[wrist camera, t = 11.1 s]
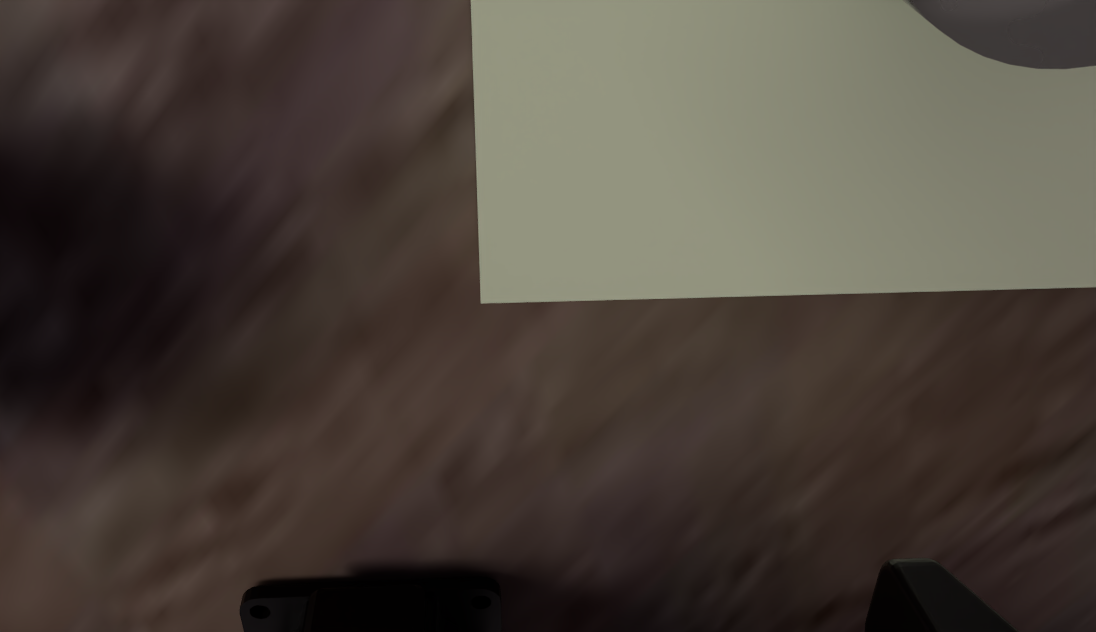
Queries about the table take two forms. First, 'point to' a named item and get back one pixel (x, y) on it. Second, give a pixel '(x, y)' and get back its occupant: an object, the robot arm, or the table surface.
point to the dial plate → (769, 154)
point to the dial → (1019, 29)
